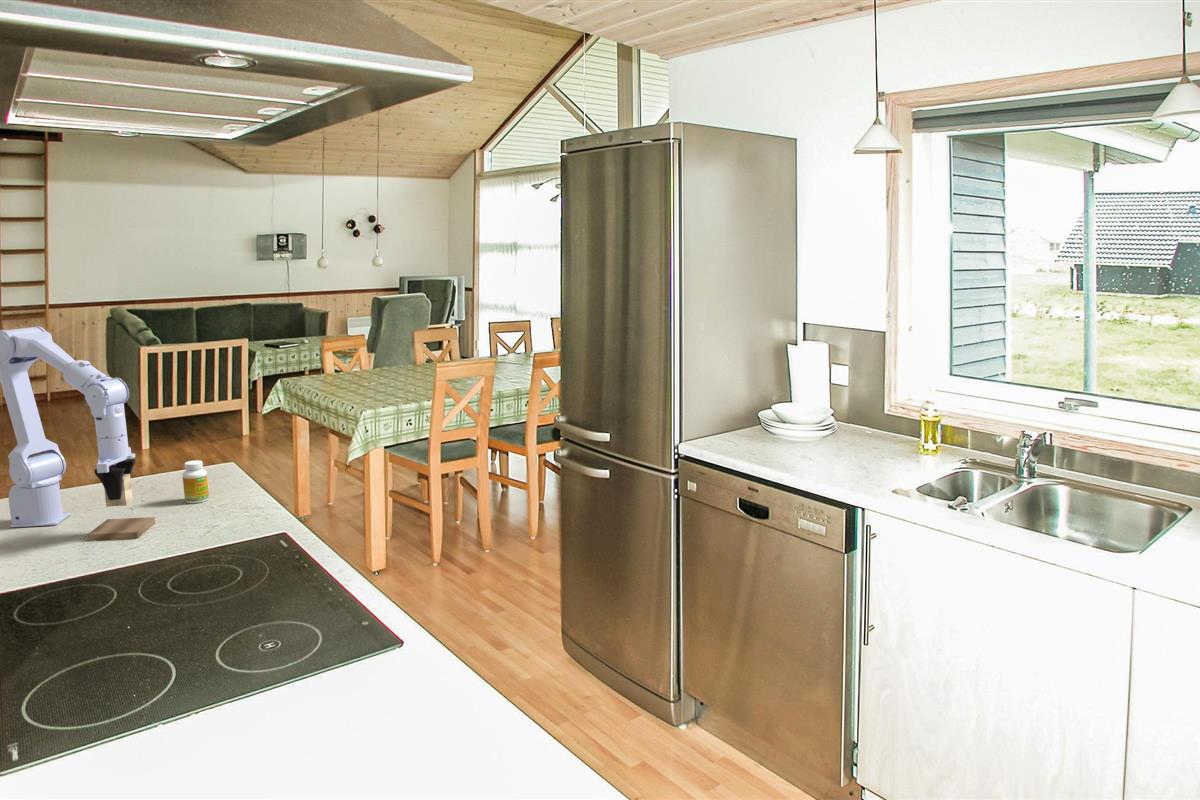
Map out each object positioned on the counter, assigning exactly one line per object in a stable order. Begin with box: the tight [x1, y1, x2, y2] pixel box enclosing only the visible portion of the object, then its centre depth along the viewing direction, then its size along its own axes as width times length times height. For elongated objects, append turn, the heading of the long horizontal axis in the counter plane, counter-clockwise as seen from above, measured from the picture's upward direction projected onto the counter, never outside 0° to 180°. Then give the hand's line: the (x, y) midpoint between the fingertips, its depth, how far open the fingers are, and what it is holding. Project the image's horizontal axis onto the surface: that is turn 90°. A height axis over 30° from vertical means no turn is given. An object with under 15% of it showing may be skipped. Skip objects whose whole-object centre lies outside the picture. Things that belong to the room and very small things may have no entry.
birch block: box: [103, 474, 134, 507], centre depth 186 cm, size 4×4×6 cm
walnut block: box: [87, 516, 156, 541], centre depth 188 cm, size 10×10×2 cm
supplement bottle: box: [182, 459, 210, 504], centre depth 209 cm, size 5×5×10 cm
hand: (118, 496), depth 187 cm, fingers closed on birch block, 4 cm apart
